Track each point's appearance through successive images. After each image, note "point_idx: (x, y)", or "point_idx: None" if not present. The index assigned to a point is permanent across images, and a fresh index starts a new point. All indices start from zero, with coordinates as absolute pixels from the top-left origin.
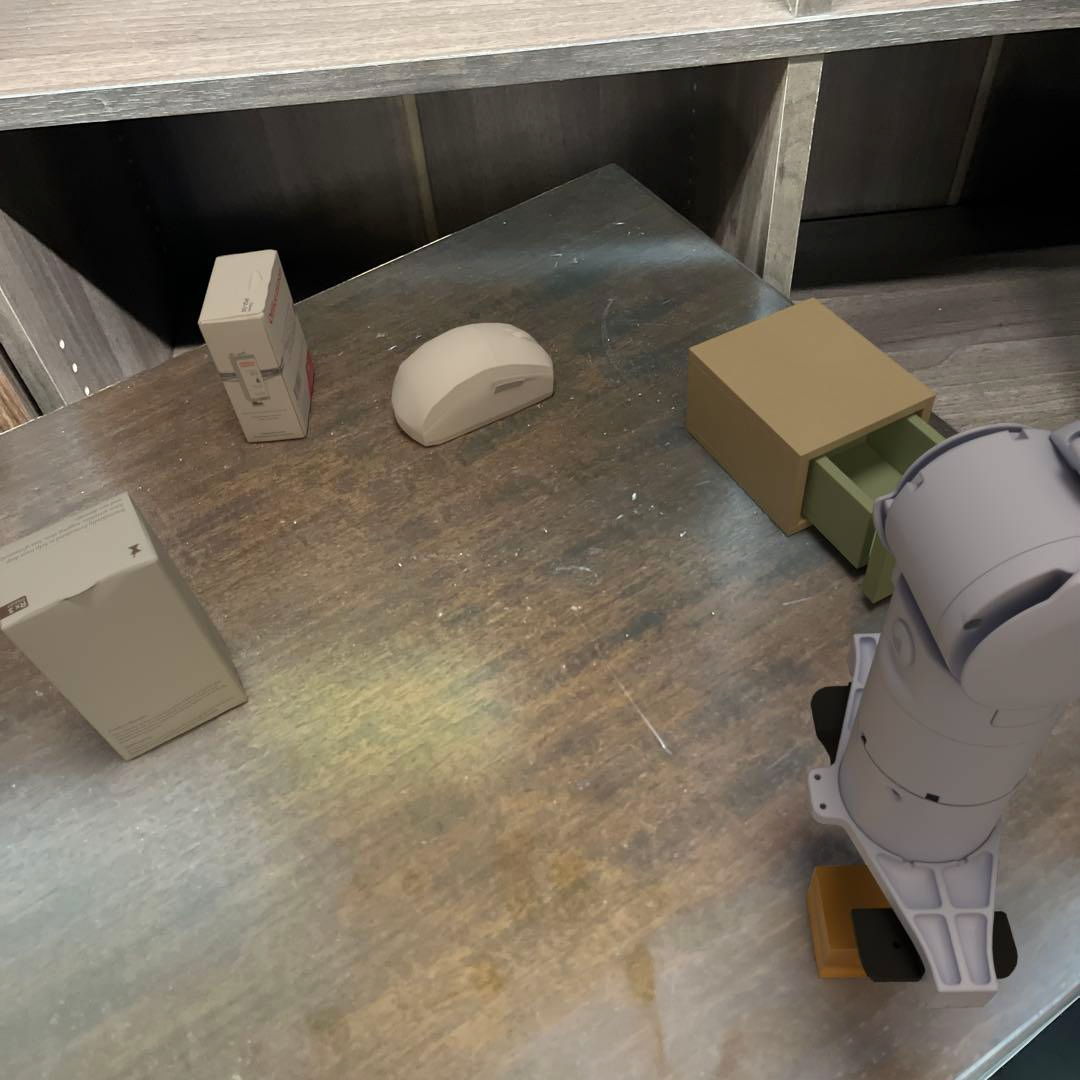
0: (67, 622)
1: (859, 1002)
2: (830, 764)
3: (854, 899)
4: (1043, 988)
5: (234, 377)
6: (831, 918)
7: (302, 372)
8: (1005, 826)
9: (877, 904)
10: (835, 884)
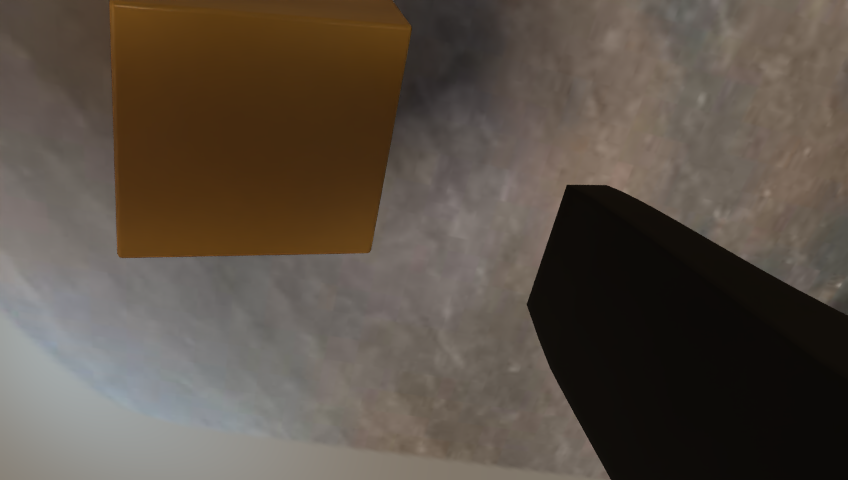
0: None
1: (46, 12)
2: (780, 281)
3: (284, 119)
4: (99, 377)
5: None
6: (226, 34)
7: None
8: (424, 371)
9: (261, 178)
10: (341, 73)
